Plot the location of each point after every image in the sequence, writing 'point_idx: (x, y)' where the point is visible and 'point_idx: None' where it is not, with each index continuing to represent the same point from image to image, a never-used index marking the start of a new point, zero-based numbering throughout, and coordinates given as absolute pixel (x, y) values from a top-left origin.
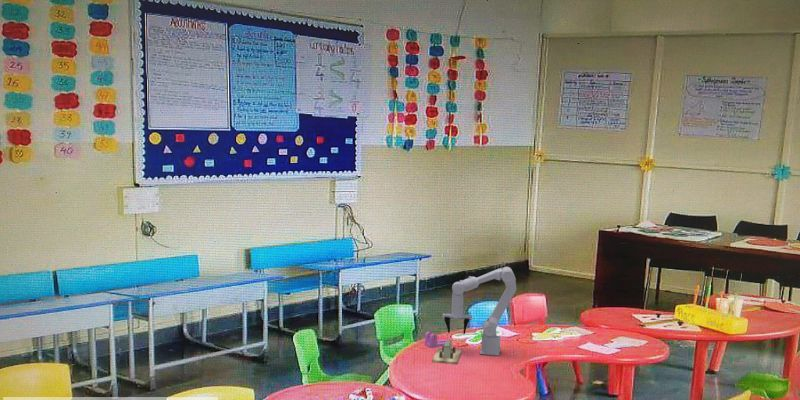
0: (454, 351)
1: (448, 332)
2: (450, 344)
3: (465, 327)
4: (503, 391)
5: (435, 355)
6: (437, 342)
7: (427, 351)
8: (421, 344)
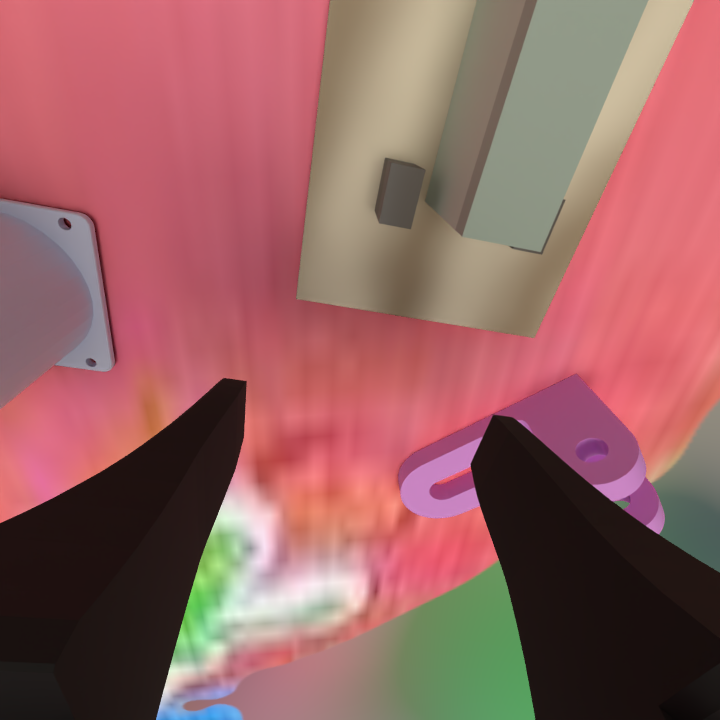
0: (392, 160)
1: (511, 419)
2: (500, 75)
3: (146, 457)
4: None
5: (675, 8)
6: None
7: (652, 269)
8: None
